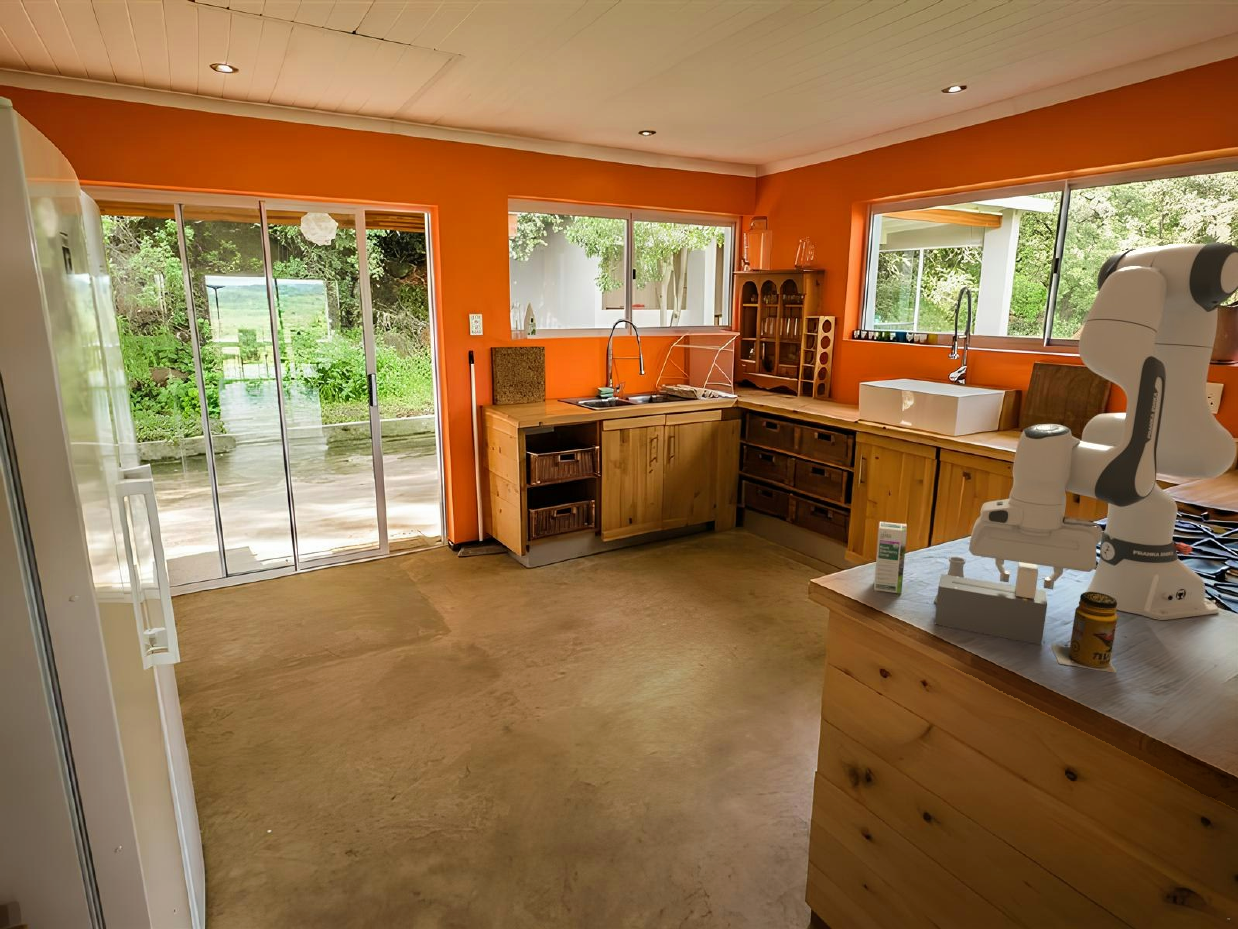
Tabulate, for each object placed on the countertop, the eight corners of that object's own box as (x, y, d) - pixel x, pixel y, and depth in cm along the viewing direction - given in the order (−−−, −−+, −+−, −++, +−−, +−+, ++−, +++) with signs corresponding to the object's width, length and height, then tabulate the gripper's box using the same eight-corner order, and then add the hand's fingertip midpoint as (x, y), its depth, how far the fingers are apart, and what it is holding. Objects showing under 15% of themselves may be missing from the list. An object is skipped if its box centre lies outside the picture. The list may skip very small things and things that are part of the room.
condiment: (1117, 673, 117) (1128, 608, 114) (1059, 664, 120) (1068, 600, 117) (1105, 653, 124) (1115, 591, 121) (1050, 645, 127) (1059, 584, 124)
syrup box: (873, 590, 151) (878, 527, 148) (874, 581, 156) (879, 519, 153) (901, 594, 149) (907, 530, 146) (901, 584, 154) (907, 522, 151)
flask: (976, 613, 140) (981, 566, 138) (937, 610, 141) (942, 564, 139) (966, 598, 147) (971, 554, 145) (930, 596, 148) (934, 551, 146)
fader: (1015, 595, 128) (1019, 570, 127) (1015, 586, 132) (1018, 561, 131) (1034, 598, 127) (1038, 573, 125) (1033, 589, 131) (1037, 564, 130)
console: (934, 624, 135) (938, 585, 133) (937, 610, 141) (941, 573, 139) (1041, 645, 127) (1047, 604, 125) (1039, 629, 133) (1045, 590, 131)
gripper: (1101, 516, 124) (1090, 588, 127) (974, 502, 133) (966, 569, 136) (1106, 526, 118) (1094, 601, 122) (973, 510, 128) (965, 580, 131)
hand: (1025, 584), depth 129 cm, fingers open, 6 cm apart
